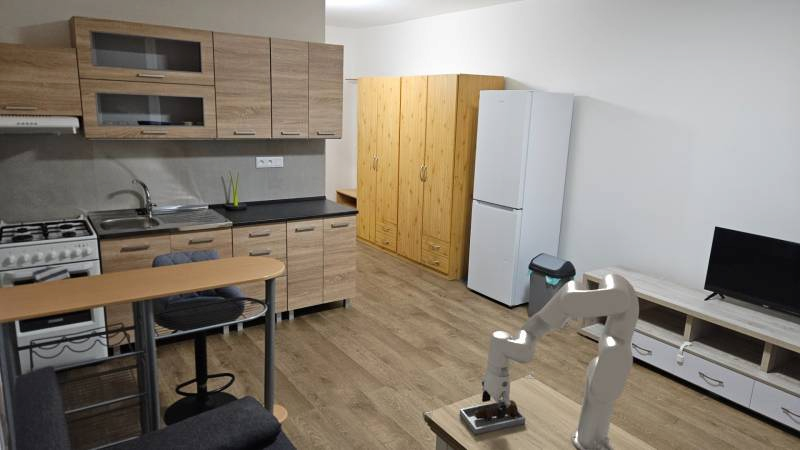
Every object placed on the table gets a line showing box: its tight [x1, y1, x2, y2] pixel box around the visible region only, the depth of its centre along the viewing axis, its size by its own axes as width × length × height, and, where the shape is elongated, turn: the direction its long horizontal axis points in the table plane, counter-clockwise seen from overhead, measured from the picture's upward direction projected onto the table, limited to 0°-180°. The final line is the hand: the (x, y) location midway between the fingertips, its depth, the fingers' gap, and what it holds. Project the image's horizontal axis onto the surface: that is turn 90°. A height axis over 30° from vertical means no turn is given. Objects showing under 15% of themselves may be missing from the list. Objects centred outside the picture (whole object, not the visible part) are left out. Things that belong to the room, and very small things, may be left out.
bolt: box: [475, 399, 519, 420], centre depth 187 cm, size 6×5×15 cm
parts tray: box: [459, 401, 526, 436], centre depth 186 cm, size 11×20×2 cm, turn 112°
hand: (493, 409), depth 185 cm, fingers open, 9 cm apart
